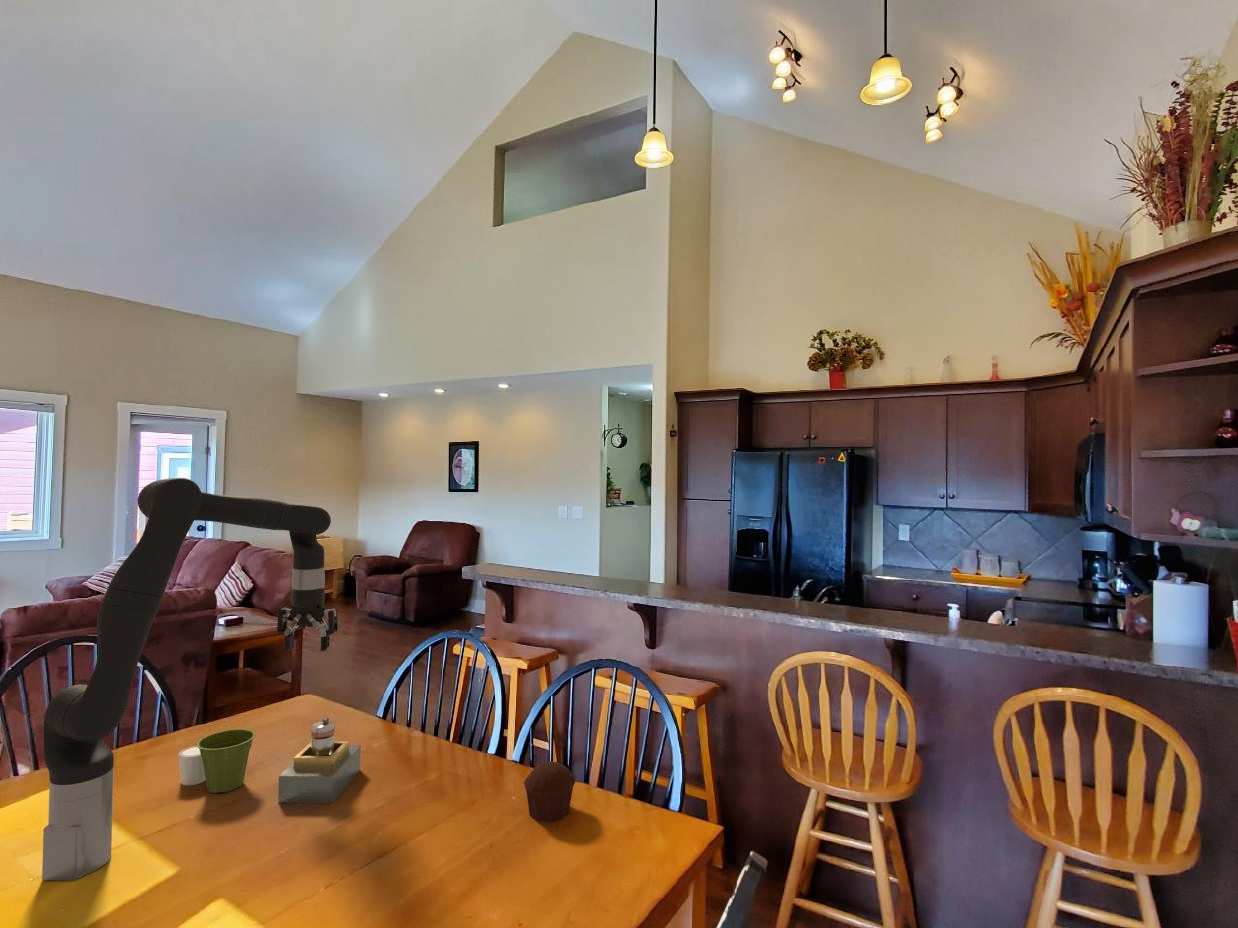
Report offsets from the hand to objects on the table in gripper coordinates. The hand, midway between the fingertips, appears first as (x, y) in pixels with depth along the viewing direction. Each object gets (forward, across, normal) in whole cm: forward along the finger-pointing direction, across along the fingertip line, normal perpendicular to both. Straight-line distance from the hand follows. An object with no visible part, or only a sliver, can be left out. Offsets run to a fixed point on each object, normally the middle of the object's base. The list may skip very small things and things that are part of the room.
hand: (307, 650), depth 159 cm
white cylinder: (+30, -23, -8) cm, 38 cm away
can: (+23, +8, -9) cm, 26 cm away
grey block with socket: (+29, +8, -9) cm, 32 cm away
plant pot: (+30, -14, -10) cm, 34 cm away
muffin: (+30, +64, -17) cm, 72 cm away
